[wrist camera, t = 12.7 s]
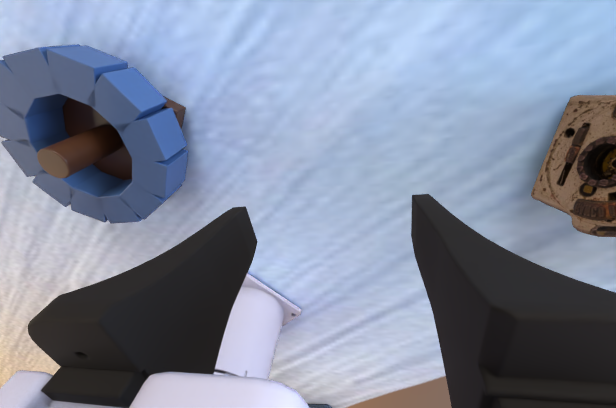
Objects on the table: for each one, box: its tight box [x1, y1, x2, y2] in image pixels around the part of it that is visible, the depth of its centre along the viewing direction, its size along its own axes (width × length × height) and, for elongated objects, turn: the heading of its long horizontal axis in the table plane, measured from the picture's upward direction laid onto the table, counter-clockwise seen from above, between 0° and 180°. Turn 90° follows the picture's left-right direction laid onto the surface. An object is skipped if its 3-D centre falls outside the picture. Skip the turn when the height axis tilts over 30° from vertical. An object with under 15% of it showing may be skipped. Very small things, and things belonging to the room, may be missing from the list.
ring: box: [0, 45, 188, 223], centre depth 20 cm, size 12×12×3 cm
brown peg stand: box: [37, 46, 186, 202], centre depth 20 cm, size 9×9×6 cm
